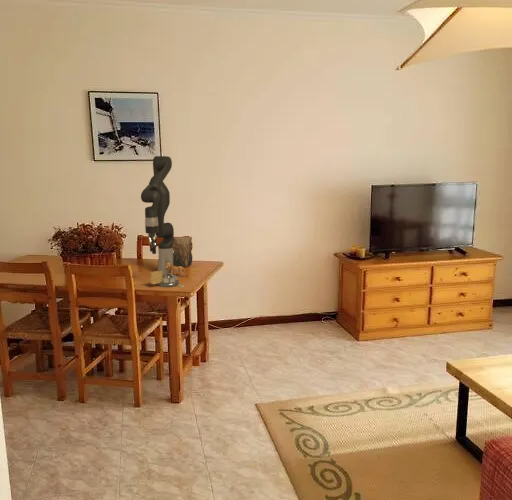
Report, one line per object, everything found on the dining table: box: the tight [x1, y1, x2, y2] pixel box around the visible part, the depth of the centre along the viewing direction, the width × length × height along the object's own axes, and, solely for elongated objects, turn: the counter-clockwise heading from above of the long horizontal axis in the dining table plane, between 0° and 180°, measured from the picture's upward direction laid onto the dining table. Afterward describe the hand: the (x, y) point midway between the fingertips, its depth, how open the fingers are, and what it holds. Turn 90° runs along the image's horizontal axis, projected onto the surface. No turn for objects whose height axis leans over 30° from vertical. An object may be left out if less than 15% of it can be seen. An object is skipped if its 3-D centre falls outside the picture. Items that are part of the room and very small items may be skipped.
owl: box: [173, 235, 193, 269], centre depth 342 cm, size 13×13×20 cm
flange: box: [157, 274, 180, 288], centre depth 295 cm, size 12×12×6 cm
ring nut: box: [150, 270, 178, 285], centre depth 293 cm, size 16×10×7 cm, turn 129°
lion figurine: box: [165, 263, 188, 278], centre depth 314 cm, size 15×5×9 cm, turn 86°
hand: (153, 252), depth 291 cm, fingers open, 6 cm apart
